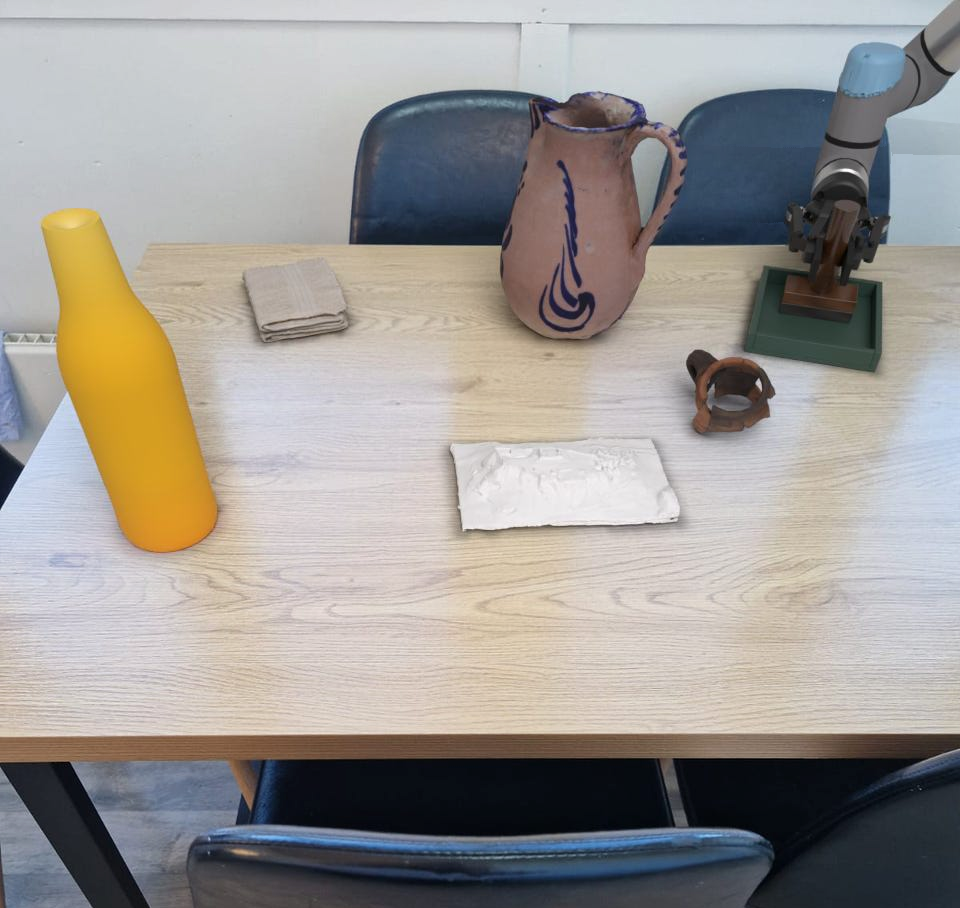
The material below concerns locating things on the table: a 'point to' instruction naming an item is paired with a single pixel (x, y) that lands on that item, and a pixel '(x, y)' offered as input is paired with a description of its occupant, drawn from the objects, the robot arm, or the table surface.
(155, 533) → the beer bottle
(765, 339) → the tray
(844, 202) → the brush
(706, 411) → the broken clay pot
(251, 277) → the washcloth
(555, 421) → the table surface
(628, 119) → the ceramic pitcher
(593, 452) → the terrain model
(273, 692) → the table surface
